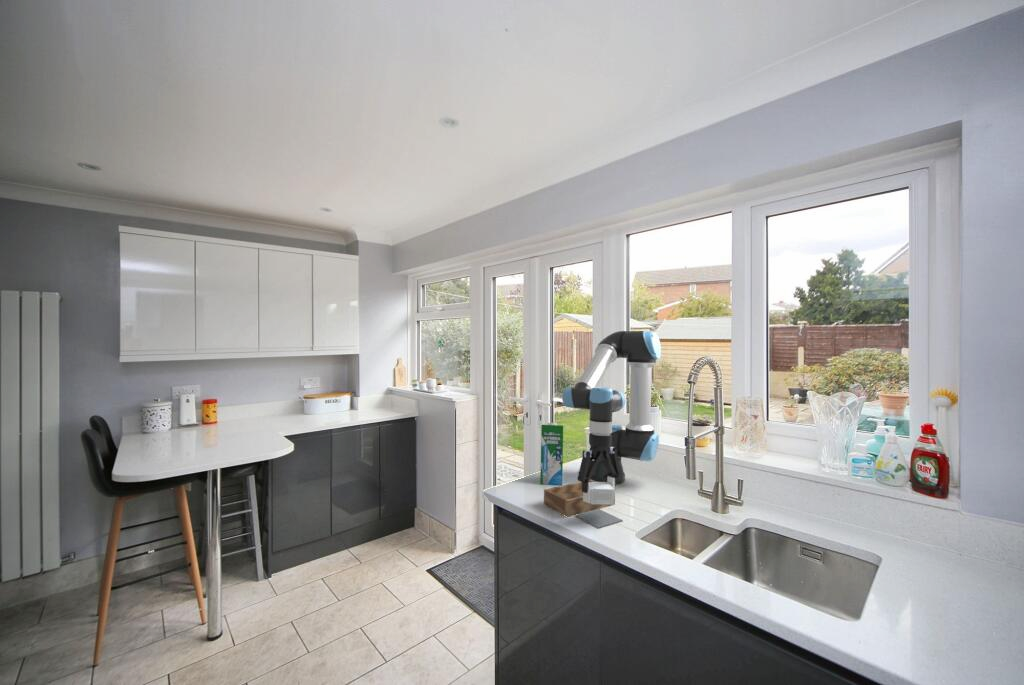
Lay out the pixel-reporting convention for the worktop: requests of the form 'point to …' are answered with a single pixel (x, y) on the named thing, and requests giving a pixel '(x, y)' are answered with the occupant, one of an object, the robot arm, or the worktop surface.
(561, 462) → the milk carton
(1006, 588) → the worktop surface
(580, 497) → the walnut frame
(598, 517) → the rubber pad
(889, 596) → the worktop surface
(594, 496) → the small box
